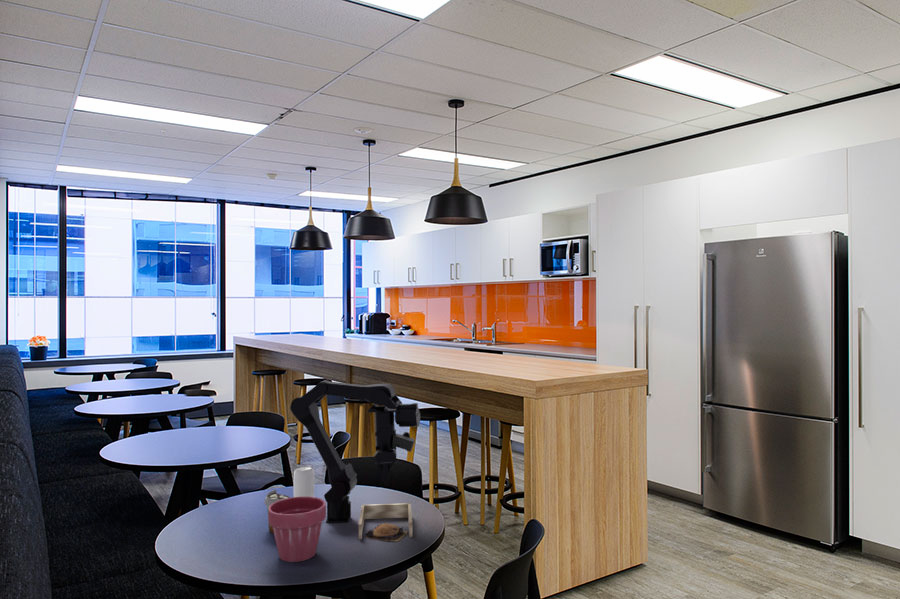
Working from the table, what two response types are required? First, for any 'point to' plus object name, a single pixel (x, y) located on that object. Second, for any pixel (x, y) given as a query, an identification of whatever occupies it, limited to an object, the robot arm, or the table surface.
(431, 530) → the table surface
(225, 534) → the table surface
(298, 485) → the can
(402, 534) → the bread roll
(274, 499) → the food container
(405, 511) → the frame
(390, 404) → the robot arm
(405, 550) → the table surface
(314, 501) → the plant pot
